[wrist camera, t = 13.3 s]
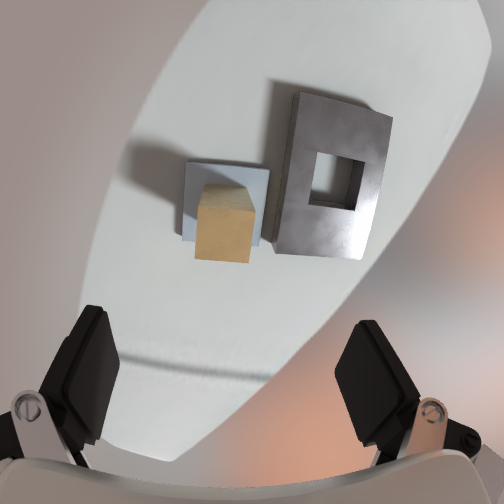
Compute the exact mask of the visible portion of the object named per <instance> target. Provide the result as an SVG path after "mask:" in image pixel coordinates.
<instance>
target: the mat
mask: <svg viewBox="0 0 504 504" xmlns="http://www.w3.org/2000/svg"><path fill="white" fill-rule="evenodd" d="M269 172H270V170H269V169H265V168H257V167H247V166H237V165H227V164H214V163H200V162H187V163H186V170H185V185H184V203H183V228H182V241H195V242H196V230H197V215H198V205H199V202H200V199H201V196H202V192H203V189H204V186H205V184H217V185H228V186H238V187H247V189H248V192H249V195H250V197H251V200H252V203H253V206H254V208H255V211H256V215H255V221H254V228H253V235H252V242H251V246H259V242H260V235H261V228H262V221H263V214H264V207H265V200H266V193H267V186H268V179H269Z"/></svg>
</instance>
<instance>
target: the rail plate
mask: <svg viewBox="0 0 504 504" xmlns="http://www.w3.org/2000/svg"><path fill="white" fill-rule="evenodd" d="M392 120H393V117H390V116H387V115H385V114H382V113H379V112H376V111H373V110H370V109H366V108H363V107H360V106H357V105H353V104H350V103H346V102H343V101H339V100H335V99H331V98H327V97H323V96H319V95H314V94H310V93H305V92H298V93H296V94H294V97H293V104H292V112H291V119H290V126H289V133H288V140H287V146H286V153H285V160H284V166H283V173H282V180H281V186H280V192H279V199H278V205H277V212H276V218H275V224H274V230H273V236H272V242H271V244H272V246H273V249H274V251H275V253H276V254H290V255H305V256H319V257H333V258H347V259H362V255H363V252H364V249H365V245H366V242H367V238H368V234H369V231H370V227H371V223H372V219H373V216H374V212H375V208H376V203H377V199H378V195H379V191H380V186H381V182H382V177H383V172H384V167H385V162H386V157H387V151H388V146H389V140H390V134H391V127H392ZM317 152H321V153H326V154H331V155H336V156H341V157H346V158H350V159H354V165H353V170H352V175H351V180H350V185H349V190H348V195H347V199H346V204H341V203H334V202H327V201H320V200H313V199H309V197H310V191H311V186H312V180H313V175H314V169H315V163H316V157H317Z"/></svg>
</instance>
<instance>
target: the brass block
mask: <svg viewBox="0 0 504 504" xmlns="http://www.w3.org/2000/svg"><path fill="white" fill-rule="evenodd" d="M255 215H256V211H255V208H254V206H253V203H252V200H251V197H250V195H249V192H248V189H247V187H238V186H228V185H217V184H205V186H204V189H203V192H202V196H201V199H200V202H199V205H198V215H197V230H196V246H195V259H202V260H215V261H227V262H241V263H249V256H250V249H251V242H252V235H253V228H254V221H255Z"/></svg>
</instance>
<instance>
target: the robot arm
mask: <svg viewBox="0 0 504 504" xmlns="http://www.w3.org/2000/svg"><path fill="white" fill-rule="evenodd" d="M119 366H120V362H119V357H118V354H117V350H116V347H115V343H114V339H113V335H112V331H111V327H110V323H109V319H108V314H107V312H106V311H103V308H102V307H100V306H93V305H86V307H85V308H84V310H83V312H82V313H81V315H80V317H79V318H78V320H77V322H76V324H75V326H74V327H73V329H72V331H71V333H70V335H69V336H67V337H66V338H65V339H64V341H63V343H62V345H61V347H60V348H59V350H58V352H57V354H56V356H55V358H54V360H53V362H52V364H51V366H50V368H49V370H48V372H47V374H46V376H45V378H44V381H43V383H42V385H41V387H40V389H39V392H36V391H33V390H25V391H22V392H20V393H19V394H17V395H16V397H14V399H13V401H12V404H11V411H10V412H7V413H5V414H2V415H0V504H496V503H497V501H498V499H499V497H500V494H501V492H502V490H503V488H504V459H502V458H501V457H500V456H499V455H497V454H496V453H495V452H494V451H492V450H491V449H490V448H489V447H488V446H486V445H485V444H483V445H482V446H481V438H480V436H479V434H478V433H477V432H476V431H475V430H474V429H472V428H470V427H467V426H465V425H462V424H460V423H458V422H456V421H453V420H451V419H449V418H448V413H447V409H446V408H445V406H444V405H443V403H441V402H440V401H439V400H437V399H435V398H425V399H423V400H422V401H420V399H419V397H420V394H419V392H418V390H417V388H416V387H415V385H414V383H413V381H412V380H411V378H410V376H409V374H408V373H407V371H406V369H405V367H404V366H403V364H402V362H401V361H400V359H399V357H398V356H397V354H396V352H395V351H394V349H393V348H392V346H391V344H390V343H389V341H388V339H387V338H386V336H385V335H384V333H383V332H382V330H381V328H380V327H379V325H378V324H377V322H376V321H375V320H361V321H360V322H359V323H358V324H356V325H355V327H354V329H353V331H352V334H351V336H350V338H349V340H348V342H347V345H346V347H345V349H344V351H343V353H342V355H341V358H340V360H339V362H338V364H337V366H336V368H335V378H336V380H337V383H338V385H339V388H340V391H341V393H342V396H343V399H344V401H345V404H346V407H347V410H348V412H349V415H350V418H351V421H352V423H353V426H354V428H355V432H356V435H357V438H358V440H359V441H360V442H362V443H363V446H364V447H368V446H371V445H375V444H376V445H377V448H378V450H377V452H376V455H375V457H374V459H373V461H372V464H371V466H370V468H367V469H364V470H360V471H356V472H352V473H348V474H344V475H339V476H335V477H330V478H325V479H320V480H314V481H308V482H301V483H295V484H287V485H276V486H265V487H247V488H246V487H245V488H213V487H193V486H180V485H171V484H163V483H155V482H149V481H143V480H137V479H132V478H127V477H122V476H117V475H113V474H108V473H104V472H100V471H96V470H93V469H92V467H91V465H90V464H89V462H88V460H87V458H86V457H85V455H84V453H83V451H82V450H83V448H84V443H87V444H90V445H94V444H95V441H96V439H97V440H99V439H100V436H101V432H102V428H103V424H104V420H105V416H106V412H107V409H108V405H109V401H110V398H111V394H112V391H113V387H114V384H115V380H116V377H117V374H118V371H119Z"/></svg>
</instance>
